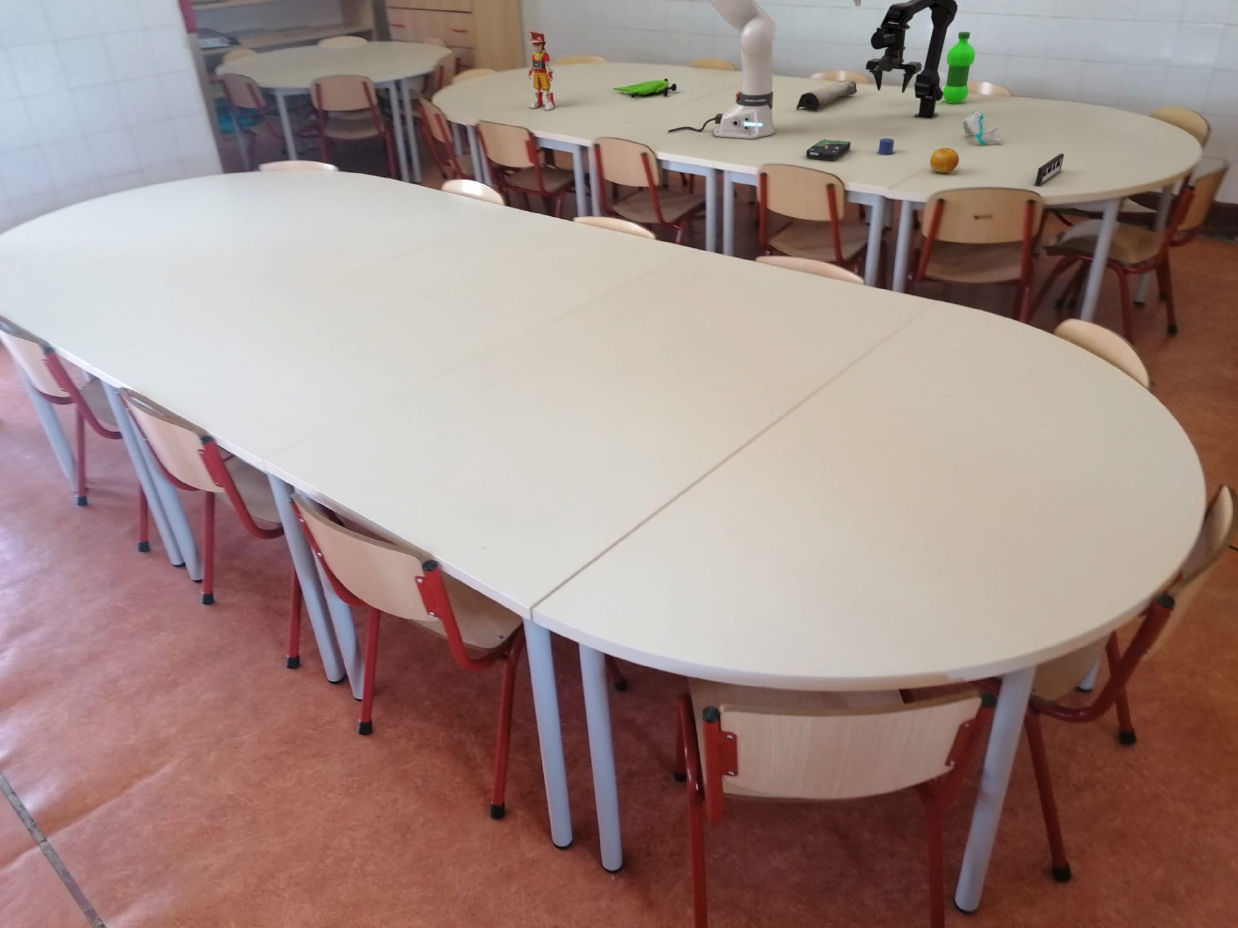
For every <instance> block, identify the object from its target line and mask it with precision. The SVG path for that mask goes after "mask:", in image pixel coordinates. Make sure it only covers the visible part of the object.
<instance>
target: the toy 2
mask: <svg viewBox="0 0 1238 928" xmlns="http://www.w3.org/2000/svg"><path fill="white" fill-rule="evenodd" d="M669 85H670V83H669V79H668V78H664V79H663V80H649V81H644V82H640V83H634V84H629V85H627V86H621V87H613V88H612V89H613V90H616V91H619V92H623V93H627V94H628V93H629V94H631V95H630V96H631V98H632V99H634V98H636V96H637V95H650V94H652V93H654V94H658V93H662V95H663V96H665V97H667V96H668V95H669V90H671V91H672V92H676V91H677V84H676V83H672V84H671V86H669Z"/></svg>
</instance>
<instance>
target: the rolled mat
mask: <svg viewBox="0 0 1238 928" xmlns="http://www.w3.org/2000/svg"><path fill="white" fill-rule="evenodd" d="M857 92H858V89H857V83H856V81H855V80H850V79H849V80H846V79H845V80H841V81H837V82H834V83H831V84H828V85H826V86H822V87H819V88H817V89H813V90H810V91H807V92H805V93H803V94H801V96H800V97H799V99H798V102H797V105H796V110H799V109H800V108H805V109H806V110H807V111H812V112H817V111H818V110H819V109H821V108H822V107H824V106H825V105H827V104H828V103H830V102H831V101H833V100H835V99H836V98H838V97H841V96H852V95H855V94H856V93H857Z"/></svg>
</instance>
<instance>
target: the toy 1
mask: <svg viewBox="0 0 1238 928" xmlns="http://www.w3.org/2000/svg"><path fill="white" fill-rule="evenodd" d="M529 33H530V35H531V36H528V37H527V38H528V39H529V40H528V41H527V43H529V44H530V43H531V44H532V48H533V50H534V51H533V52H532V55H531V58H530V59H531V63H530V66H528V74H527V75H528V76H527V77H528V79H529V80H531V75H532V74H533V84H532V85H533V86H532V87H533V88H534V89H535V90H536V92H534V95H535V97H536V100H535V101H533V102H531V105H530V108H531V109H535V108H538V107H542V106H544V101H543V100H544V99H543V95H544V92H546V94H545V97H546V99H547V103H546V104H545V106H544V110H546V111H549V110H553V109H554V107H555V106H556V105H555V99H554V92H551V91H550V90H551V86H552V84H551V82H552V81H553V80H554V77H553V73H554V71H555V70H554V69H552V68H551V63H550V61H551V59H550V58H551V57H550V54H549V53H548V52H547V50H546V48H545V46H546V44H547V41H545V35H544V33H543V32H542V33H539V32H535V31H529Z"/></svg>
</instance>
